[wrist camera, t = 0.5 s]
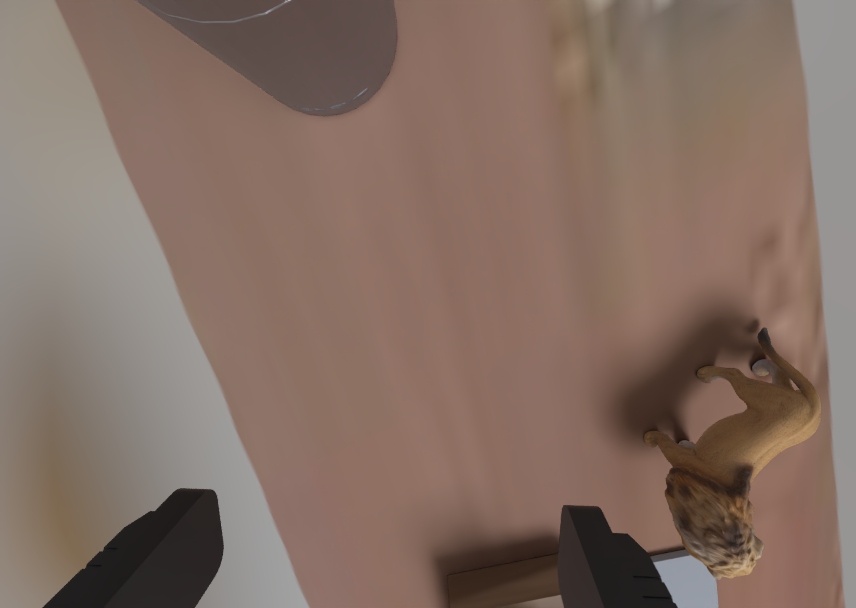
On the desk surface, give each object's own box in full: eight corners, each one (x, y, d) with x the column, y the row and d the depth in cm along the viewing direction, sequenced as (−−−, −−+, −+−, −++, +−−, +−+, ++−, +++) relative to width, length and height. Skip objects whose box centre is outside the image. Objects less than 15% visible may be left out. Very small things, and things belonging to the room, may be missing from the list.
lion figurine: (671, 501, 33) (759, 608, 24) (613, 475, 33) (683, 575, 24) (787, 340, 30) (935, 396, 21) (725, 308, 30) (852, 353, 21)
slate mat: (609, 564, 34) (612, 570, 34) (708, 544, 34) (713, 550, 34) (621, 639, 36) (624, 646, 36) (715, 622, 36) (720, 629, 35)
